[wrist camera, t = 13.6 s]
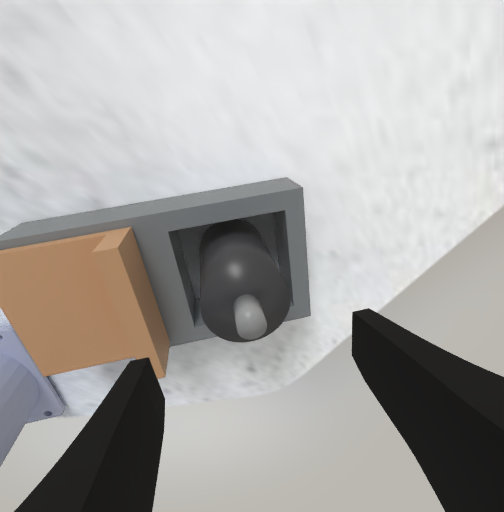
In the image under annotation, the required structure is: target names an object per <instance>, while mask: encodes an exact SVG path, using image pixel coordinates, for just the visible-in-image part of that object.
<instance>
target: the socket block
mask: <svg viewBox="0 0 504 512" xmlns="http://www.w3.org/2000/svg"><path fill="white" fill-rule="evenodd" d="M272 212H274V219H275V228H276V237H277V246H278V256H279V265H280V273H281V275H282V277H283V278H284V280H285V282H286V284H287V286H288V288H289V291H290V297H291V302H290V308H289V311H288V314H287V316H286V318H285V320H284V321H283V322H285V321H290V320H294V319H299V318H303V317H308V316H311V313H310V296H309V280H308V264H307V247H306V231H305V215H304V198H303V187H301V186H300V185H298V184H297V183H295V182H293V181H292V180H290V179H289V178H287V177H286V178H280V179H275V180H269V181H263V182H257V183H251V184H246V185H240V186H234V187H228V188H223V189H217V190H211V191H205V192H200V193H194V194H188V195H182V196H176V197H171V198H165V199H159V200H153V201H148V202H142V203H136V204H130V205H124V206H119V207H113V208H107V209H101V210H96V211H90V212H84V213H78V214H72V215H67V216H61V217H55V218H49V219H44V220H38V221H32V222H26V223H21V224H20V225H18V226H16V227H14V228H12V229H11V230H9V231H7V232H5V233H4V234H2V235H0V250H5V249H10V248H16V247H21V246H27V245H33V244H38V243H44V242H49V241H55V240H60V239H66V238H71V237H77V236H83V235H88V234H94V233H99V232H105V231H110V230H116V229H121V228H127V227H131V228H132V231H133V234H134V236H135V239H136V242H137V245H138V248H139V251H140V254H141V257H142V260H143V263H144V266H145V269H146V272H147V275H148V278H149V281H150V284H151V287H152V290H153V293H154V296H155V299H156V302H157V305H158V308H159V311H160V314H161V317H162V320H163V323H164V326H165V329H166V332H167V335H168V338H169V341H170V345H169V347H171V346H175V345H180V344H184V343H189V342H194V341H198V340H203V339H207V338H212V337H216V336H217V335H215V334H214V333H212V332H211V331H210V330H209V329H208V328H207V326H206V325H205V323H204V321H203V319H202V316H201V310H200V298H199V299H195V297H194V293H193V289H192V286H191V282H190V278H189V274H188V270H187V267H186V263H185V259H184V255H183V251H182V248H181V244H180V240H179V236H178V233H177V230H179V229H185V228H190V227H196V226H201V225H207V224H212V223H218V222H223V221H229V220H234V219H239V218H245V217H250V216H256V215H261V214H267V213H272Z"/></svg>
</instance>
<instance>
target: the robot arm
mask: <svg viewBox="0 0 504 512" xmlns="http://www.w3.org/2000/svg"><path fill="white" fill-rule="evenodd" d="M0 335H1V336H2V337H0V466H1V465H2V463H3V461H4V459H5V458H6V456H7V454H8V453H9V451H10V449H11V447H12V446H13V444H14V442H15V440H16V439H17V437H18V435H19V434H20V432H21V430H22V428H23V427H24V425H25V424H26V423H30V422H35V421H38V420H43V419H47V418H52V417H56V416H60V415H62V414H63V412H64V410H65V406H64V404H63V403H62V401H61V399H60V398H59V396H58V395H57V393H56V391H55V390H54V388H53V386H52V385H51V383H50V381H49V380H48V378H47V377H46V376H45V377H43V375H42V373H41V372H40V370H39V369H38V367H37V365H36V364H35V362H34V361H33V359H32V357H31V356H30V354H29V352H28V351H27V349H26V348H25V346H24V344H23V343H22V341H21V340H20V338H19V336H18V335H17V333H16V331H15V330H14V328H13V327H11V326H5V327H0ZM352 356H353V358H354V360H355V362H356V365H357V367H358V369H359V370H360V372H361V374H362V376H363V378H364V380H365V382H366V383H367V385H368V386H369V388H370V389H371V391H372V392H373V394H374V395H375V397H376V398H377V400H378V401H379V403H380V404H381V406H382V407H383V409H384V410H385V412H386V413H387V415H388V416H389V418H390V419H391V421H392V422H393V424H394V425H395V427H396V428H397V430H398V431H399V433H400V434H401V435H402V437H403V438H404V440H405V442H406V443H407V445H408V446H409V448H410V449H411V451H412V453H413V454H414V456H415V457H416V459H417V461H418V463H419V464H420V466H421V468H422V470H423V472H424V474H425V475H426V477H427V479H428V481H429V482H430V484H431V486H432V488H433V490H434V491H435V493H436V495H437V497H438V499H439V501H440V503H441V504H442V506H443V508H444V510H445V512H504V377H502V376H500V375H497V374H495V373H493V372H490V371H487V370H486V369H483V368H481V367H479V366H476V365H474V364H472V363H470V362H468V361H466V360H463V359H462V358H459V357H458V356H455V355H453V354H451V353H449V352H447V351H445V350H443V349H441V348H439V347H437V346H436V345H433V344H432V343H430V342H428V341H426V340H424V339H422V338H420V337H419V336H417V335H415V334H413V333H411V332H410V331H408V330H406V329H404V328H403V327H401V326H399V325H397V324H395V323H394V322H392V321H390V320H389V319H387V318H385V317H383V316H382V315H380V314H378V313H376V312H374V311H373V310H371V309H364V310H360V311H355V312H353V314H352ZM164 417H165V398H164V395H163V393H162V390H161V387H160V385H159V382H158V380H157V377H156V375H155V372H154V369H153V367H152V364H151V362H150V359H149V357H147V358H142V359H138V360H133V361H130V362H129V364H128V365H127V366H126V368H125V369H124V371H123V372H122V374H121V375H120V377H119V378H118V380H117V381H116V382H115V384H114V385H113V387H112V388H111V390H110V391H109V393H108V394H107V396H106V397H105V399H104V400H103V401H102V403H101V404H100V406H99V407H98V408H97V410H96V411H95V413H94V414H93V416H92V417H91V418H90V420H89V421H88V423H87V424H86V425H85V427H84V428H83V429H82V431H81V432H80V433H79V435H78V436H77V437H76V439H75V440H74V441H73V442H72V444H71V445H70V446H69V448H68V449H67V450H66V452H65V453H64V454H63V456H62V457H61V458H60V459H59V460H58V462H57V463H56V464H55V465H54V467H53V468H52V469H51V470H50V471H49V473H48V474H47V475H46V476H45V477H44V478H43V480H42V481H41V482H40V483H39V484H38V485H37V487H36V488H35V489H34V490H33V491H32V492H31V494H30V495H29V496H28V497H27V498H26V499H25V500H24V501H23V503H22V504H21V505H20V506H19V507H18V508H17V509H16V510H15V511H14V512H152V508H153V501H154V495H155V487H156V482H157V475H158V468H159V462H160V455H161V447H162V441H163V434H164Z"/></svg>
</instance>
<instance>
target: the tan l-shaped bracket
mask: <svg viewBox="0 0 504 512" xmlns="http://www.w3.org/2000/svg"><path fill="white" fill-rule="evenodd" d="M0 307H1V309H2V310H3V312H4V314H5V315H6V317H7V319H8V320H9V322H10V323H11V325H12V327H13V328H14V330H15V331H16V333H17V335H18V336H19V338H20V340H21V341H22V343H23V344H24V346H25V348H26V349H27V351H28V352H29V354H30V356H31V357H32V359H33V361H34V362H35V364H36V365H37V367H38V369H39V370H40V372H41V373H42V375H43V377H45V376H50V375H54V374H59V373H64V372H68V371H73V370H77V369H82V368H86V367H91V366H95V365H100V364H105V363H109V362H114V361H118V360H123V359H127V358H132V357H135V358H136V360H138V359H142V358H147V357H149V359H150V362H151V364H152V367H153V369H154V372H155V375H156V377H157V379H159V378H163V377H165V375H166V368H167V360H168V353H169V345H170V341H169V338H168V335H167V332H166V329H165V326H164V323H163V320H162V317H161V314H160V311H159V308H158V305H157V302H156V299H155V296H154V293H153V290H152V287H151V284H150V281H149V278H148V275H147V272H146V269H145V266H144V263H143V260H142V257H141V254H140V251H139V248H138V245H137V242H136V239H135V236H134V234H133V231H132V228H131V227H127V228H121V229H116V230H110V231H105V232H99V233H94V234H88V235H83V236H77V237H71V238H66V239H60V240H55V241H49V242H44V243H38V244H33V245H27V246H21V247H16V248H10V249H5V250H0Z"/></svg>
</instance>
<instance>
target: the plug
mask: <svg viewBox="0 0 504 512" xmlns="http://www.w3.org/2000/svg"><path fill="white" fill-rule="evenodd" d="M290 302H291V297H290V291H289V288H288V286H287V284H286V282H285V280H284V278H283V277H282V275H281V273H280V271H279V269H278V267H277V266H276V264H275V262H274V260H273V258H272V256H271V255H270V253H269V251H268V249H267V247H266V245H265V244H264V242H263V240H262V238H261V236H260V234H259V233H258V231H257V230H256V229H255V228H254V227H253V226H252V225H251V224H249V223H248V222H246V221H243V220H240V219H234V220H229V221H223V222H218V223H215V224H213V225H212V226H211V227H210V228H209V229H208V230H207V231H206V232H205V233H204V235H203V237H202V240H201V243H200V310H201V316H202V319H203V321H204V323H205V325H206V326H207V328H208V329H209V330H210V331H211V332H212V333H214V334H215V335H217V336H218V337H220V338H222V339H225V340H228V341H232V342H250V341H254V340H258V339H261V338H263V337H265V336H267V335H269V334H270V333H272V332H273V331H275V330H276V329H277V328H278V327H279V326H280V325H281V324H282V322H283V321H284V320H285V318H286V316H287V314H288V311H289V308H290Z"/></svg>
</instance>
